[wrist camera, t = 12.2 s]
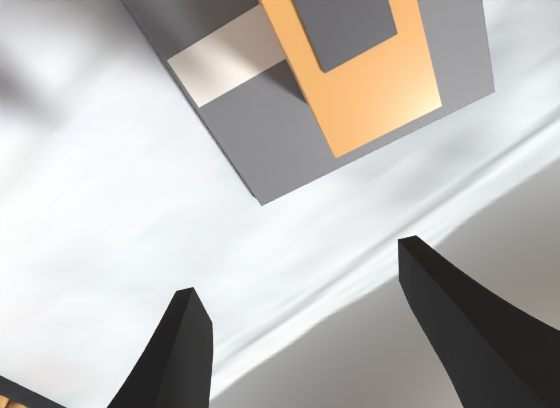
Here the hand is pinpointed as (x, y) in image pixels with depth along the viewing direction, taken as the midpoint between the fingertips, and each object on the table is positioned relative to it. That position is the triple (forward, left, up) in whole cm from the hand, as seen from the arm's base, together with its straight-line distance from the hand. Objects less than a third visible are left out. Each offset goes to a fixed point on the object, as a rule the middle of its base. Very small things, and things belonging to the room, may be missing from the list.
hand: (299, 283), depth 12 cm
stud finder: (+5, +6, -9) cm, 12 cm away
